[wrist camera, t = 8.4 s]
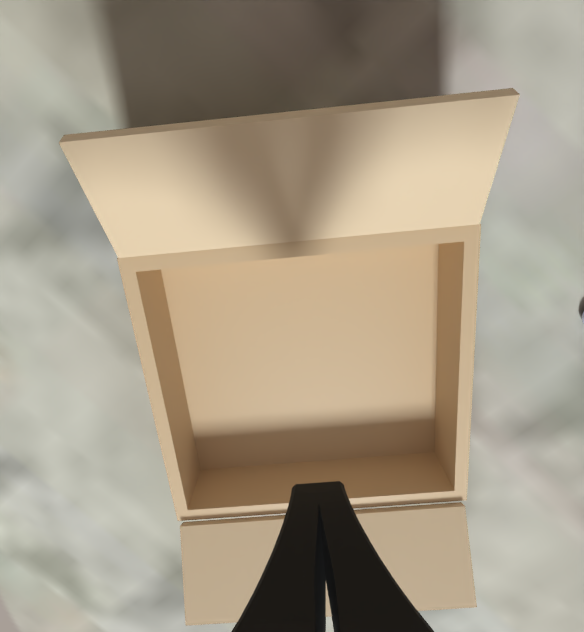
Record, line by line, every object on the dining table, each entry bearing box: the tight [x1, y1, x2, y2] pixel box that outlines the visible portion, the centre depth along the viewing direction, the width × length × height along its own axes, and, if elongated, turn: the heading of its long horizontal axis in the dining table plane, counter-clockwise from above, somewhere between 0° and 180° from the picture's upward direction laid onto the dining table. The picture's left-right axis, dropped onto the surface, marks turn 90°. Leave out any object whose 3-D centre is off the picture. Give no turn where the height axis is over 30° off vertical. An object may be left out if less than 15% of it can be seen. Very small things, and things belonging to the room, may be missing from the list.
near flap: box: [59, 88, 520, 258], centre depth 14 cm, size 14×4×1 cm, turn 95°
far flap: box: [180, 502, 477, 625], centre depth 20 cm, size 14×4×1 cm, turn 95°
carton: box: [117, 224, 481, 521], centre depth 19 cm, size 14×13×4 cm
